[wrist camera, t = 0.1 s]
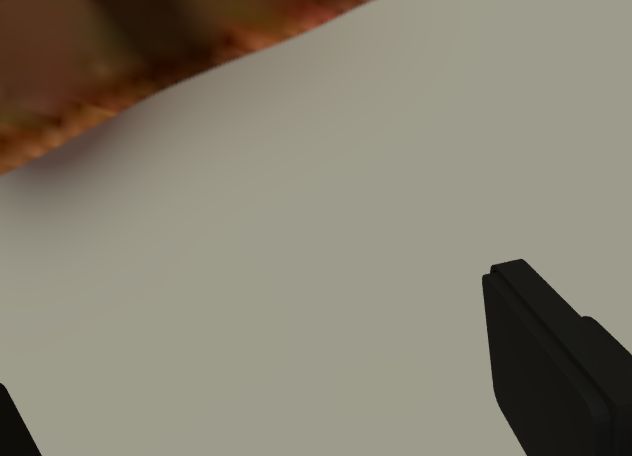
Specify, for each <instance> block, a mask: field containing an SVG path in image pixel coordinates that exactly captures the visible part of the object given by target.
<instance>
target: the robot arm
mask: <svg viewBox="0 0 632 456" xmlns="http://www.w3.org/2000/svg"><path fill="white" fill-rule="evenodd" d="M482 286H483V294H484V304H485V314H486V323H487V332H488V342H489V351H490V360H491V370H492V379H493V388H494V393H495V397H496V399H497V402H498V405H499V407H500V409H501V411H502V413H503V414H504V416H505V418H506V420H507V421H508V423H509V425H510V427H511V428H512V430H513V432H514V434H515V435H516V437H517V439H518V441H519V443H520V444H521V446H522V448H523V450H524V451H525V453H526V455H527V456H632V355H631V354H630V353H629V352H628V351H627V350H626V349H625V348H624V347H623V346H622V345H621V344H620V343H619V342H618V341H617V340H616V339H615V338H614V337H613V336H611V334H610V333H609V332H608V331H606V330H605V329H604V328H603V327H602V326H601V325H600V324H599V323H598V322H597V321H596V320H594V319H593V318H592V317H588V316H583V317H581V316H580V315H579V314H578V313H577V312H576V311H575V310H574V309H573V308H572V307H571V306H570V305H569V304H568V303H567V302H566V301H565V300H564V299H563V298H562V297H561V296H560V295H559V294H558V293H557V292H556V291H555V290H554V289H553V288H552V287H551V286H550V285H549V284H547V282H546V281H545V280H544V279H543V278H542V277H541V276H539V274H538V273H537V272H536V271H535V270H534V269H533V268H532V267H531V266H530V265H529V264H528V263H527V262H526V261H524V260H523V259H518V260H513V261H509V262H504V263H500V264H496V265H492V266H491V270H490V274H486V275H483V277H482ZM0 456H42V455H41V453H40V452H39V450H38V448H37V446H36V444H35V442H34V440H33V439H32V437H31V435H30V433H29V431H28V429H27V427H26V425H25V423H24V421H23V419H22V418H21V416H20V414H19V412H18V410H17V408H16V406H15V404H14V402H13V401H12V399H11V397H10V395H9V393H8V391H7V389H6V388H5V386H4V385H3V384H1V383H0Z"/></svg>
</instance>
